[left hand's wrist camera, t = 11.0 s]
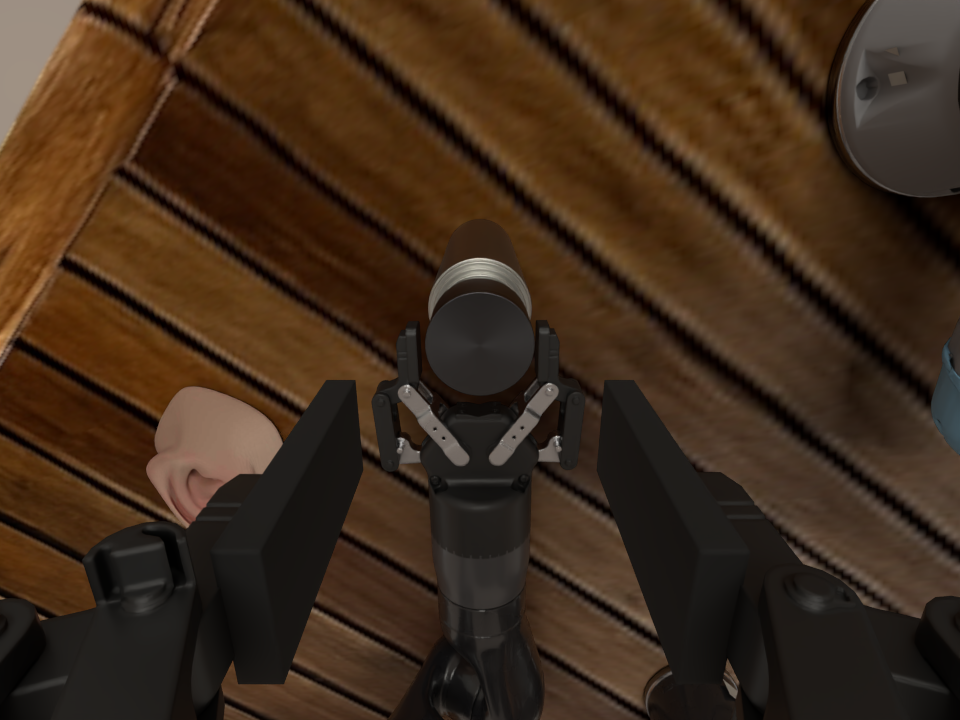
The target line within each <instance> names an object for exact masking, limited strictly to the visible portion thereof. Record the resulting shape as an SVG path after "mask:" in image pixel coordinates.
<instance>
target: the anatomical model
mask: <svg viewBox="0 0 960 720" xmlns="http://www.w3.org/2000/svg"><path fill="white" fill-rule="evenodd" d="M282 444H283V442H282V439H281V437H280V435H279V433H278V431H277V429H276V427H275V426H274V425H273V423H272V422H271V421H270V420H269V419H268V418H267V417H266V416H265V415H263V414H262V413H261V412H259V411H258V410H256V409H255V408H253V407H251V406H250V405H248V404H246V403H244V402H242V401H240V400H238V399H235V398H233V397H230V396H228V395H225V394H223V393H220V392H217V391H214V390H210V389H207V388H202V387H194V386H192V387H186V388H184V389H182V390H180V391H179V392H178V393H177V394H176V395H175V396H174V398H173V399H172V400H171V402H170V404H169V405H168V407H167V409H166V410H165V412H164V414H163V416H162V418H161V420H160V423H159V425H158V429H157V432H156V435H155V447H156V450H157V452H158V454H157V455H156V456H155V457H153V458H152V459H151V460H150V462H149V463H148V465H147V469H146V471H147V475H148V477H149V479H150V480H151V482H152V483H153V485H154V486H155V488H156V489H157V490H158V492H159V493H160V495H161V496H162V498H163V499H164V501H165V502H166V503H167V505H168V506H169V508H170V509H171V510H172V512H173V513H174V514H175V516H176V517H177V518H178V519H179V520H180V522H181V523H182V524H183V525H184V526H185V527H187V528H188V527H189V525H190V524H191V523H192V522H193V521H195V520H196V517H197V515H198V514H199V513H200V511H201V510H202V509H203V508H204V507H206V504H207V502H208V501H209V500H210V499H211V497H212V496H213V495H214V494H215V492H216V491H217V490H218V488H220V487H221V486H222V485H224V484H225V483H227V482H228V481H230V480H231V479H233V478H234V477H236V476H237V475H239V474H263V472H264V471H265V469H266V468H267V466H268V465H269V464H270V462H271V461H272V459H273V458H274V456H275V455H276V453H277V452H278V450H279V449H280V447H281V446H282Z"/></svg>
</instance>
